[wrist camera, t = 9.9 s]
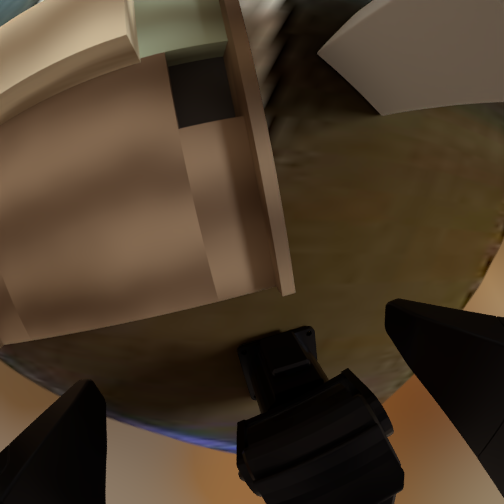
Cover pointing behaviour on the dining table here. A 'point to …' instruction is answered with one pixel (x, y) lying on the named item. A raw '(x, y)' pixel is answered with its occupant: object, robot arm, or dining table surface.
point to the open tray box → (143, 184)
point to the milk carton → (422, 53)
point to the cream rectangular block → (63, 49)
